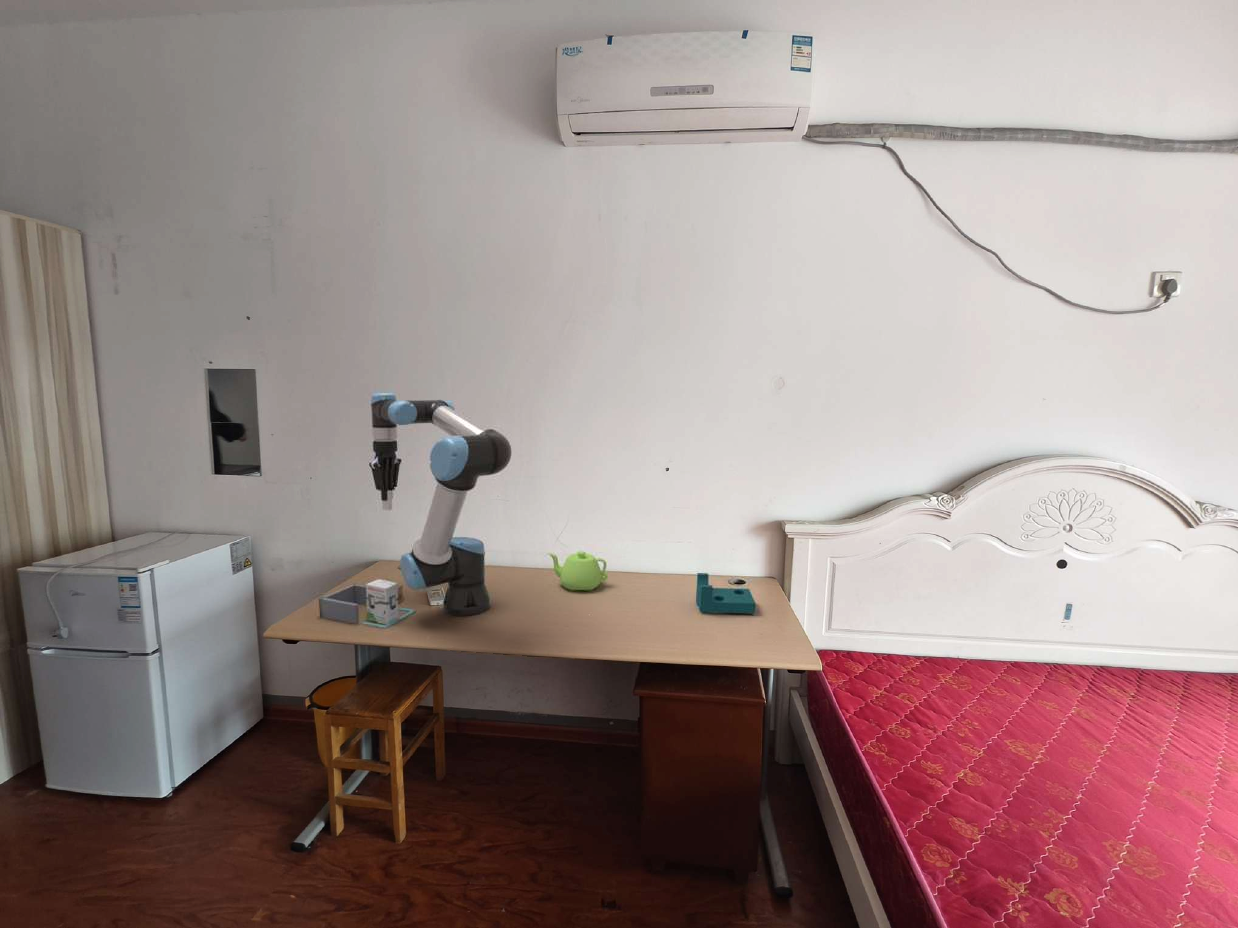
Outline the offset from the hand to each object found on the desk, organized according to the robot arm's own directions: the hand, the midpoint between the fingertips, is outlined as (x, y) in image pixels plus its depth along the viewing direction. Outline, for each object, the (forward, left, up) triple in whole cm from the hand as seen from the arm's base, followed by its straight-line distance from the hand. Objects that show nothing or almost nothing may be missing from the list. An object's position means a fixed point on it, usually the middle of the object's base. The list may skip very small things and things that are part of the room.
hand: (387, 509), depth 193 cm
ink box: (-12, +17, -31) cm, 37 cm away
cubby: (0, +16, -30) cm, 34 cm away
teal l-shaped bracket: (-110, -33, -31) cm, 119 cm away
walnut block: (-4, +4, -31) cm, 31 cm away
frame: (-13, +15, -30) cm, 36 cm away
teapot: (-56, -33, -31) cm, 72 cm away
